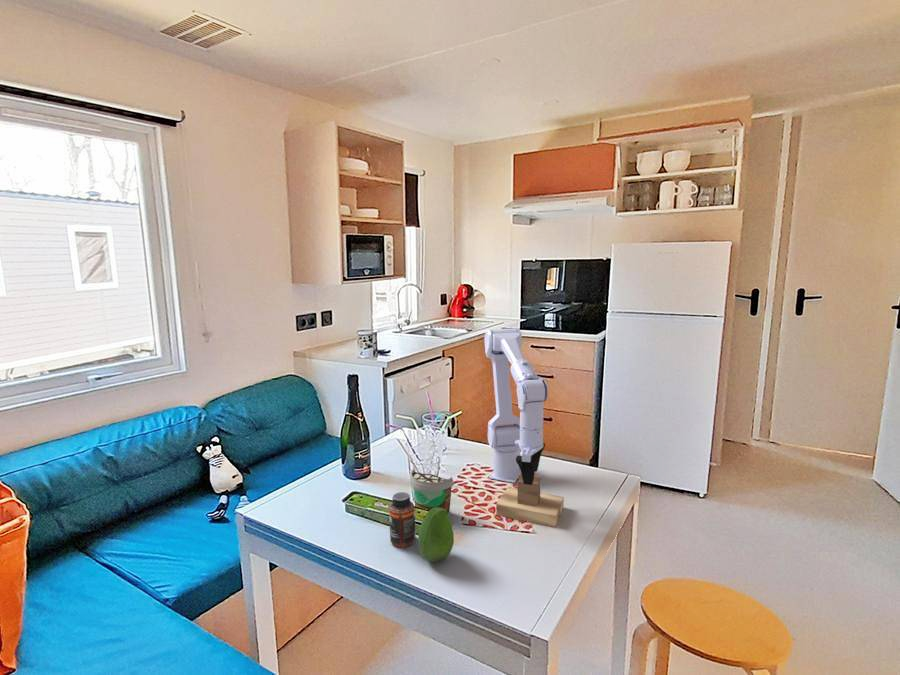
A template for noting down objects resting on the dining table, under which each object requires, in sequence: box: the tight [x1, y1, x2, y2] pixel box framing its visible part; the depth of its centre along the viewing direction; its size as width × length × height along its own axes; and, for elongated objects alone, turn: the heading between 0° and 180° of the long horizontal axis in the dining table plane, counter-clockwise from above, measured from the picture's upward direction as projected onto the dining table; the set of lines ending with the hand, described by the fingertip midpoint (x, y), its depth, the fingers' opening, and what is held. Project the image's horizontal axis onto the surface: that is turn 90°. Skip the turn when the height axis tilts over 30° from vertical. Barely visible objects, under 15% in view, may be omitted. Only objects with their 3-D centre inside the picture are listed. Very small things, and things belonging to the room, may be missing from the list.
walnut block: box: [517, 474, 542, 506], centre depth 126 cm, size 5×5×6 cm
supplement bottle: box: [388, 491, 417, 548], centre depth 114 cm, size 6×6×11 cm
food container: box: [408, 468, 455, 514], centre depth 126 cm, size 12×6×10 cm, turn 62°
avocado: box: [417, 508, 455, 563], centre depth 107 cm, size 8×8×12 cm
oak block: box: [495, 486, 565, 528], centre depth 127 cm, size 10×15×3 cm, turn 66°
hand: (530, 477), depth 126 cm, fingers open, 7 cm apart
